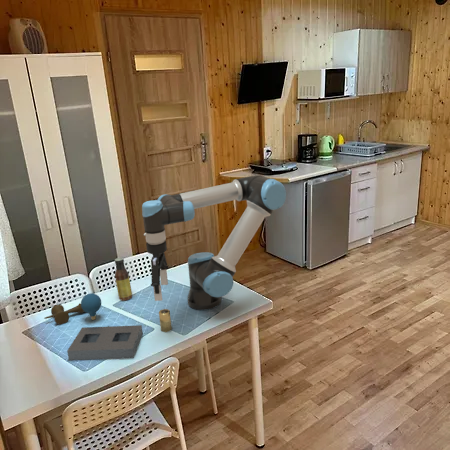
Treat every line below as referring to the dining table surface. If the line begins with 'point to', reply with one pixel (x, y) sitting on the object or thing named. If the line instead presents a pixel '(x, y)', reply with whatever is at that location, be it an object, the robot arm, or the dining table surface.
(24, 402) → the dining table surface
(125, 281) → the sauce bottle
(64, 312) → the kendama
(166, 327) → the bushing
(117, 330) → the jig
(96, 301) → the light bulb
